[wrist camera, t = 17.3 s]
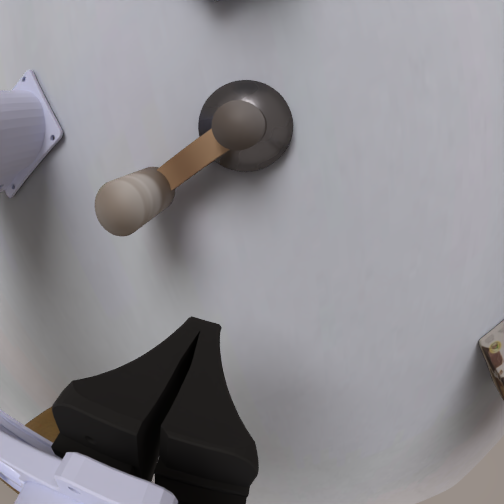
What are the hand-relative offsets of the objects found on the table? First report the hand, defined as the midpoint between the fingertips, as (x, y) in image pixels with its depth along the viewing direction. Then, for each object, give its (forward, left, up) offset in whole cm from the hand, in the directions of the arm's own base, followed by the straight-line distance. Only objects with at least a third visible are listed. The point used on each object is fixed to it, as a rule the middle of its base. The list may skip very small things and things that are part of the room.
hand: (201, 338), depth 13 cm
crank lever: (+1, +7, -9) cm, 12 cm away
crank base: (+5, +7, -10) cm, 14 cm away
